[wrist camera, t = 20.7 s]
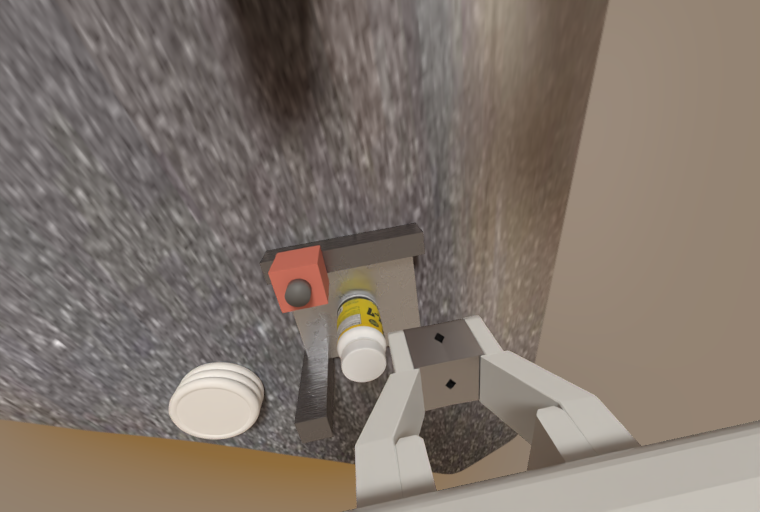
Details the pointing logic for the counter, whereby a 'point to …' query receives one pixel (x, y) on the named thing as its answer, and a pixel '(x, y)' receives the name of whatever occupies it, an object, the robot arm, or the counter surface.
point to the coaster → (217, 401)
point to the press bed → (346, 278)
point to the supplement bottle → (360, 339)
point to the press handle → (300, 279)
